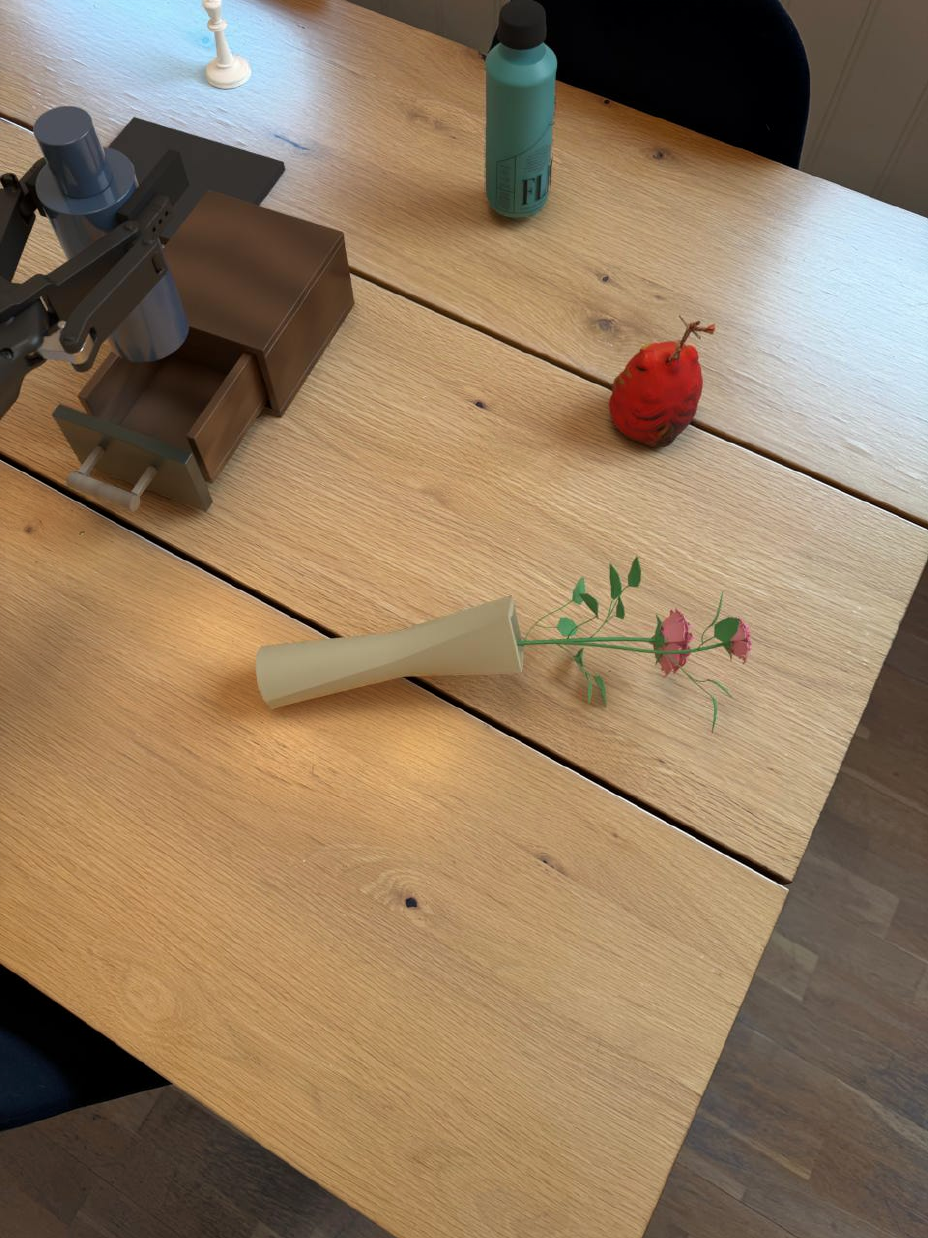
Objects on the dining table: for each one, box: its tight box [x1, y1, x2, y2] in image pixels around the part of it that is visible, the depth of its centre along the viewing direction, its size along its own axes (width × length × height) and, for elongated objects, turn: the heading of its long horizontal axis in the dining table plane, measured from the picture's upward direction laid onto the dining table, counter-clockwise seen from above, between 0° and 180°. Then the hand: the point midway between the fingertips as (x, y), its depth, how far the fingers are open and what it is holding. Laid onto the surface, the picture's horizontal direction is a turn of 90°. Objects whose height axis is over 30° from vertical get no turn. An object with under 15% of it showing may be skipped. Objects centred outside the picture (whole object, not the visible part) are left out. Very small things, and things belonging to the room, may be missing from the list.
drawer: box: [51, 331, 269, 513], centre depth 85 cm, size 18×12×7 cm
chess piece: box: [201, 0, 252, 90], centre depth 107 cm, size 5×5×10 cm
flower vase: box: [255, 555, 753, 735], centre depth 75 cm, size 12×12×35 cm
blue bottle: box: [32, 105, 189, 362], centre depth 70 cm, size 6×6×18 cm
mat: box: [107, 116, 286, 246], centre depth 103 cm, size 18×14×1 cm
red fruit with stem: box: [608, 314, 716, 449], centre depth 83 cm, size 8×7×15 cm
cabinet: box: [163, 190, 355, 418], centre depth 91 cm, size 15×14×9 cm
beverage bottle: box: [483, 0, 558, 219], centre depth 93 cm, size 6×7×20 cm
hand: (134, 153), depth 70 cm, fingers closed on blue bottle, 6 cm apart
